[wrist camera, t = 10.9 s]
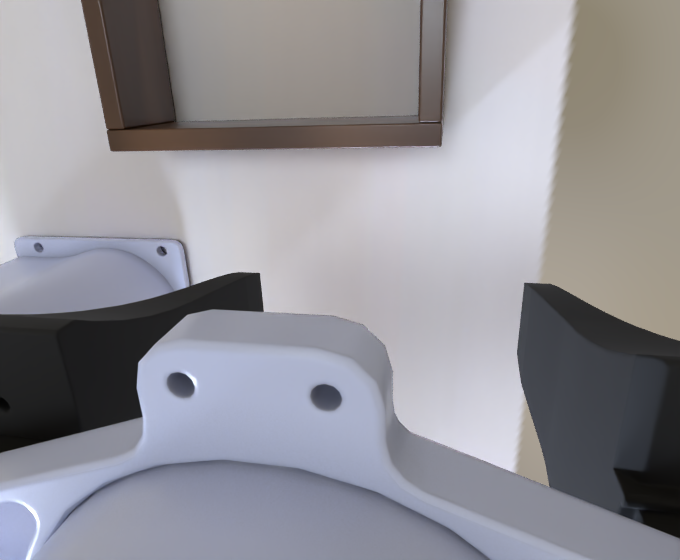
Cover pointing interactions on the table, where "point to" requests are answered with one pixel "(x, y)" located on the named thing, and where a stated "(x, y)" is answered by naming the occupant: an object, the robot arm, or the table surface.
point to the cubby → (308, 133)
